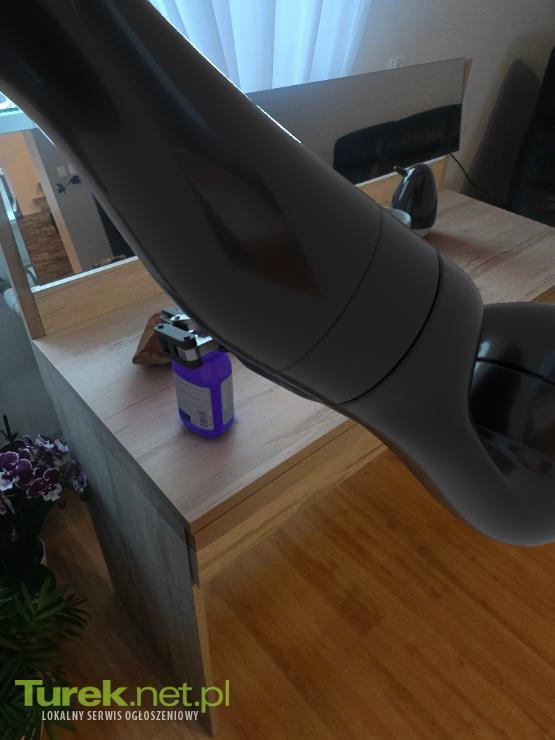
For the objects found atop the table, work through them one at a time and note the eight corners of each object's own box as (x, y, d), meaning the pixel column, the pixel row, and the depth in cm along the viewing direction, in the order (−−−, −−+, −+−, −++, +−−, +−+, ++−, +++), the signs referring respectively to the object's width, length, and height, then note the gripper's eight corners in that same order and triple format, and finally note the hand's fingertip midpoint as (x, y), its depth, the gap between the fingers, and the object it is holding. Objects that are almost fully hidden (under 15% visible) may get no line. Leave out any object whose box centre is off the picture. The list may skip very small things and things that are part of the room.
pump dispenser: (384, 223, 113) (395, 154, 103) (430, 227, 111) (446, 157, 102) (382, 242, 105) (394, 169, 96) (432, 247, 104) (449, 174, 94)
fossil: (193, 303, 79) (181, 276, 70) (223, 342, 78) (216, 320, 68) (126, 350, 77) (105, 328, 68) (157, 391, 76) (139, 375, 66)
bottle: (243, 422, 64) (238, 309, 53) (214, 448, 61) (202, 333, 50) (202, 399, 68) (189, 288, 56) (172, 423, 64) (152, 309, 53)
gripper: (372, 258, 36) (259, 243, 49) (204, 328, 30) (124, 290, 43) (383, 349, 40) (274, 313, 53) (233, 428, 34) (151, 366, 47)
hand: (207, 303), depth 48 cm, fingers open, 8 cm apart
